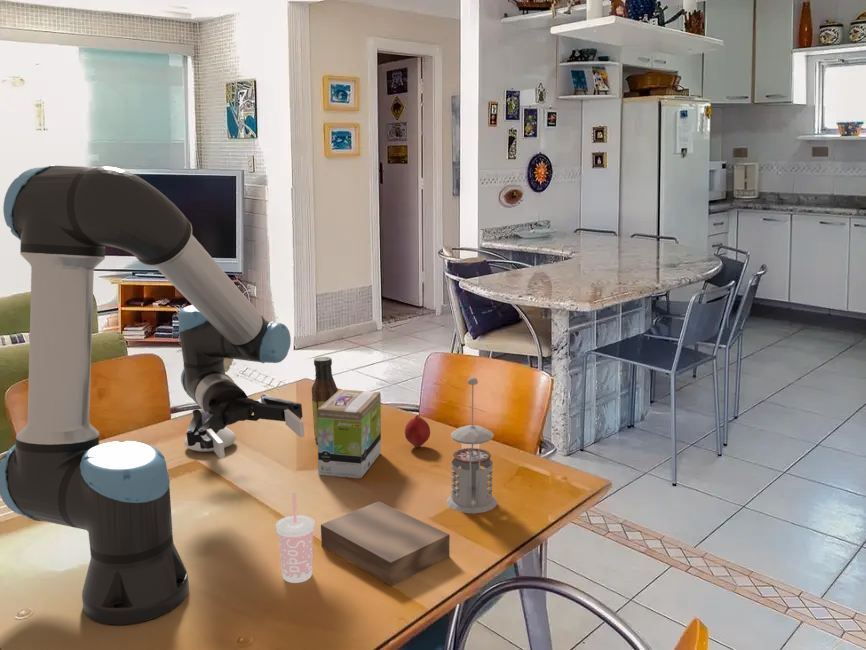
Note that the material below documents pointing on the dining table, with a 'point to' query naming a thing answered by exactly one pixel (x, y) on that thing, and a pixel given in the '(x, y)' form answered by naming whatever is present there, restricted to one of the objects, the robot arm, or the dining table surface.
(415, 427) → the onion
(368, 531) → the walnut pedestal
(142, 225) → the robot arm
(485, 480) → the french press
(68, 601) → the dining table surface
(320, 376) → the sauce bottle
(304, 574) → the beverage cup
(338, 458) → the tea box
